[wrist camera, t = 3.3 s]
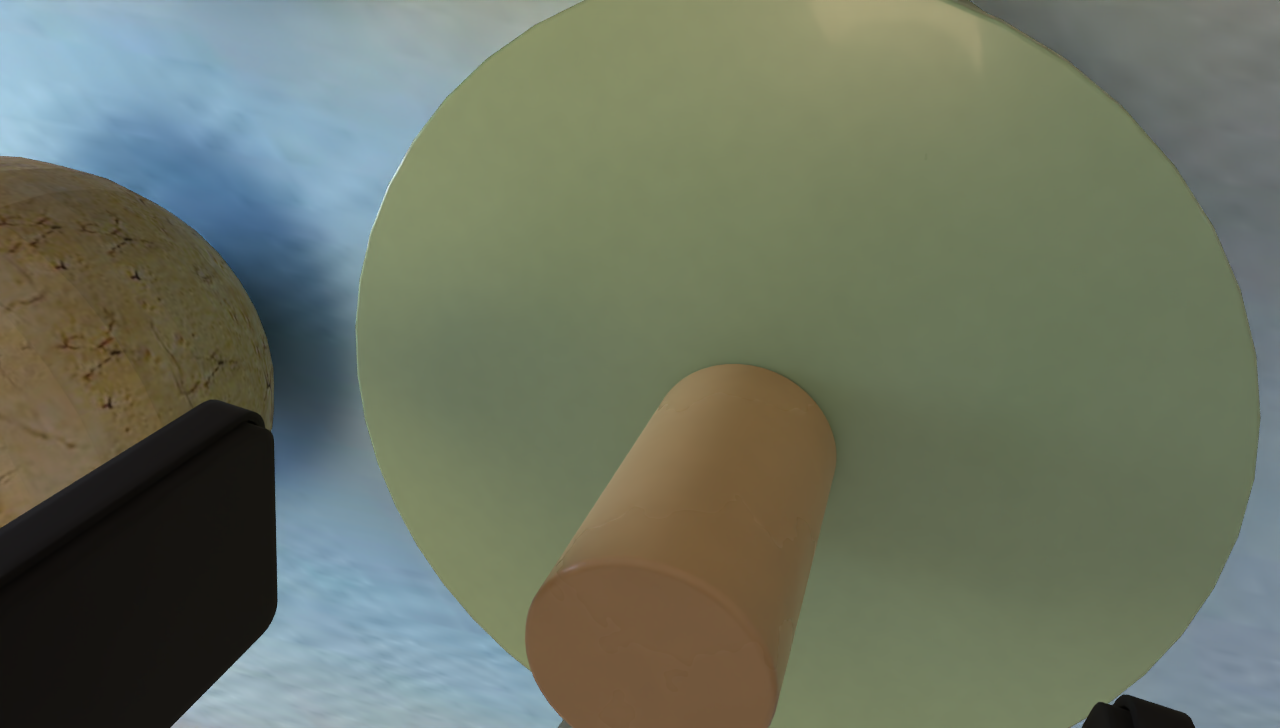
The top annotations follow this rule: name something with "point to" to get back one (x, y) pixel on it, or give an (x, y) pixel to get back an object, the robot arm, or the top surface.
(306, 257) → the top surface
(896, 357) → the green lid
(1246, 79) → the top surface
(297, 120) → the top surface
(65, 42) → the top surface
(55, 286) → the fossilized egg
